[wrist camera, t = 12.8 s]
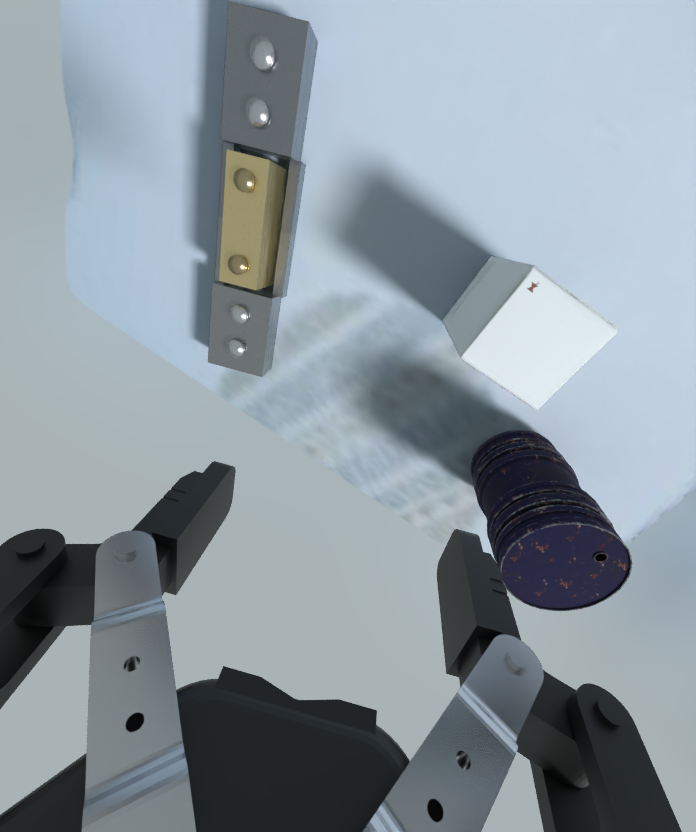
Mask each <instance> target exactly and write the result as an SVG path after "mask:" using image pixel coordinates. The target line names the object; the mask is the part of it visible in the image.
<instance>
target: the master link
mask: <svg viewBox="0 0 696 832" xmlns="http://www.w3.org/2000/svg"><path fill="white" fill-rule="evenodd" d="M286 176H287V170H286V169H284V168H282V167H281V166H279V165H277V164H276V163H274V162H272V161H270V160H268V159H264V158H260V157H256V156H252V155H248V154H244V153H240V152H235V151H231V150H227V153H226V170H225V187H224V205H223V222H222V239H221V257H220V274H219V281H222V282H226V283H230V284H233V285H237V286H241V287H245V288H249V289H253V290H259V289H261V288H264V287H267V286H270V285H273V282H274V273H275V265H276V257H277V249H278V241H279V233H280V225H281V217H282V208H283V200H284V192H285V184H286Z"/></svg>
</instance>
